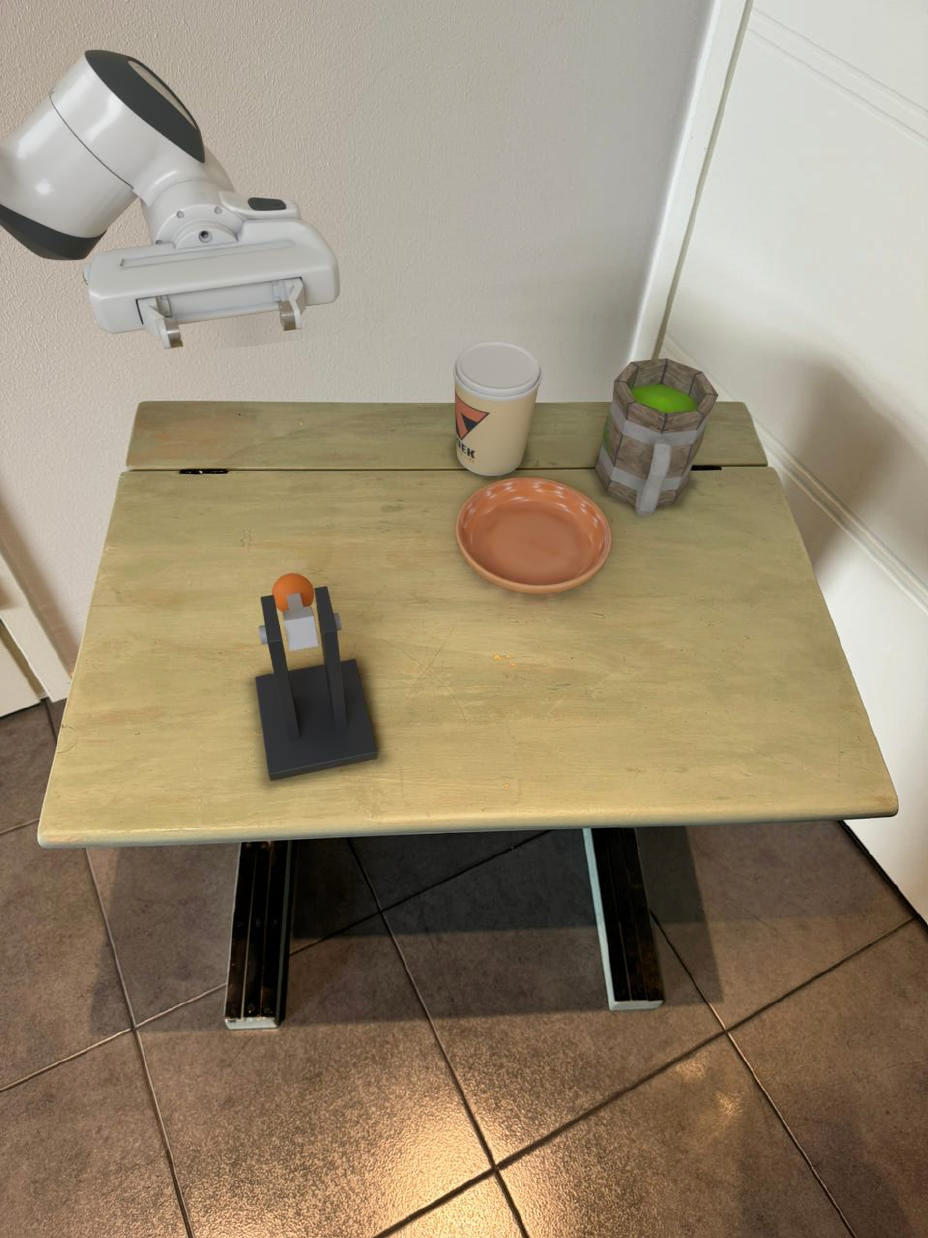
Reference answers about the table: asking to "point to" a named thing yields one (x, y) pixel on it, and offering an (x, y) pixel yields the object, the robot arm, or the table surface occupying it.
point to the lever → (296, 610)
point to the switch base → (311, 702)
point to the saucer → (533, 535)
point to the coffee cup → (494, 405)
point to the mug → (653, 432)
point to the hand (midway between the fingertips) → (233, 331)
